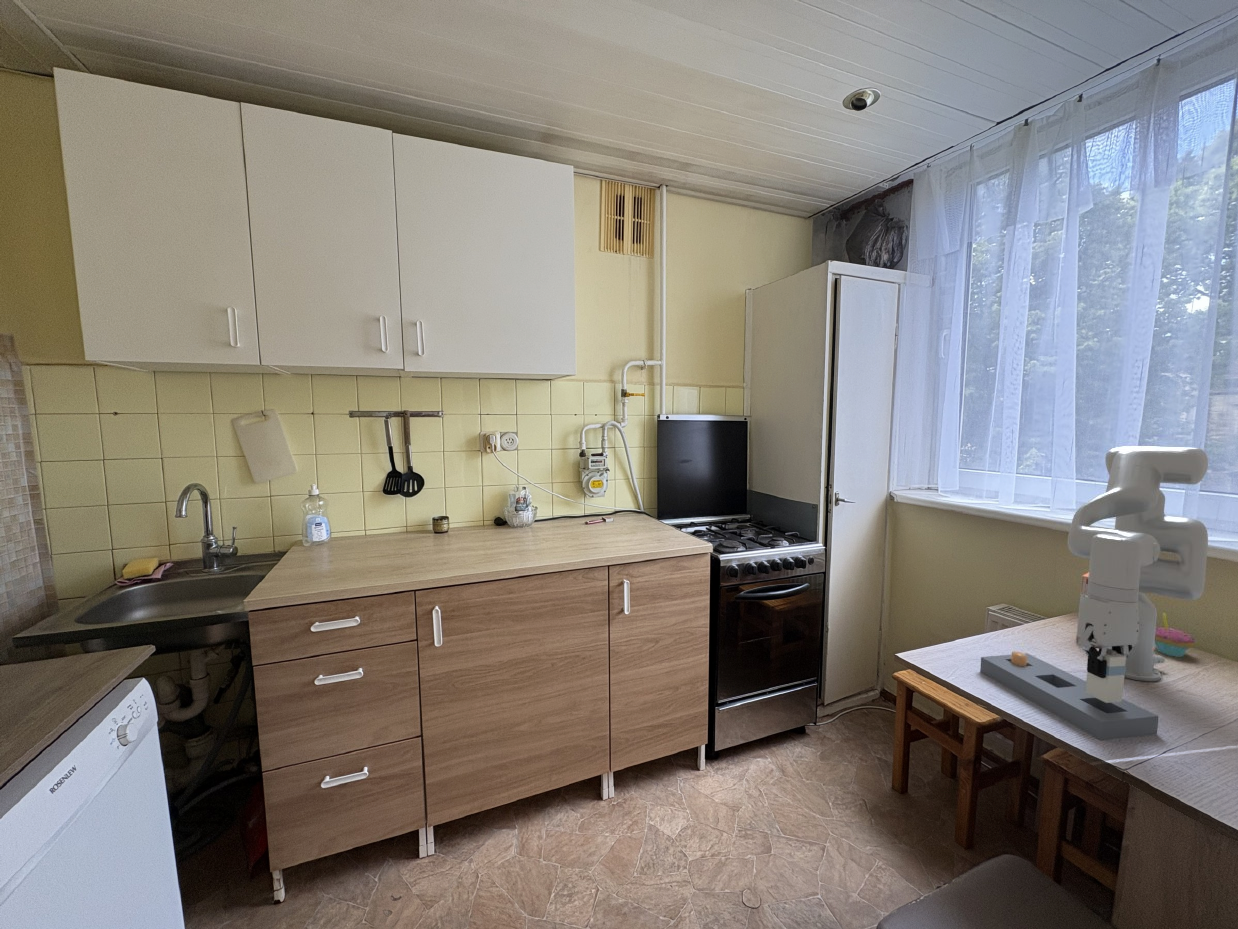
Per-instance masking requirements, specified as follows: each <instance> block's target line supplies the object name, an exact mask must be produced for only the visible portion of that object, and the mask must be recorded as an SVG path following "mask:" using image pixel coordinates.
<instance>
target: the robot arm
mask: <svg viewBox="0 0 1238 929" xmlns="http://www.w3.org/2000/svg"><path fill="white" fill-rule="evenodd" d="M1104 459H1105V466H1106V470H1107V473H1108V476H1109V478H1108V481H1107V485H1106V489H1105V493H1103V494H1100V495H1098V496H1096V497H1093V498H1092V499H1090V500H1088V501H1087V502H1085V503H1084V504H1083V505H1081V506H1080V507H1079V508H1078V509H1077V511H1075V513H1074V515H1073V517H1072V520H1071V525H1070V527H1069V532H1068V535H1067V548H1068V550H1069V551H1070V553H1072V554H1073V555H1074V556H1075V557H1076V556H1077V557H1080V558H1083V559H1088V560H1089V567H1088V573H1089V577H1088V590H1087V596H1085V597H1084V600H1083V603H1082V606H1081V610H1080V614H1079V613H1078V615H1079V620H1078V619H1077V626H1078V627H1076V637H1077V636H1078V638H1080V639H1079V641H1078V642H1077V645H1078V646H1079V647H1081V648H1083V650H1084V651H1085V654H1086V655H1087V663H1086V671H1088V672H1089V673H1091V674H1093V675H1095V676H1098V677H1100V678H1105V677H1106V666H1107V661H1106V660H1104V658H1105V654H1106V650H1107V648H1109V649H1111V650H1114V651H1116V652H1117V653H1118V654H1121V655H1123V656H1126V664H1125V666H1126V669H1125V675H1124V679H1125V678H1127V679H1129V680H1130V679H1131V680H1134V681H1141V682H1158V681H1160V680H1161V677H1162V674H1161V673H1160V671H1159V670H1157V669H1156V668H1155V665H1156V664H1164V663H1165V661H1166V660H1165V657H1163V656H1162V655H1160V654H1159V655H1154V650H1155V631H1156V628H1157V619H1158V611H1157V608H1156V606H1155V604H1154V603H1153V601H1151V600H1150V599H1149V597H1148V596H1147V595H1146V594H1150V595H1151V594H1153V595H1157V596H1163V597H1167V598H1168V597H1169V598H1174V599H1180V600H1188V601H1189V600H1190V601H1193V600H1195V601H1196V600H1197V599H1199V598H1201V597H1202V595H1203V593H1204V589H1205V584H1206V583H1205V582H1206V570H1207V560H1208V559H1207V558H1208V550H1209V549H1208V548H1209V533H1208V530H1207V527H1206V525H1205V524H1204V523H1203V522H1202V521H1200V520H1198V519H1194V518H1190V517H1184V516H1183V517H1182V516H1172V515H1166V514H1165V505H1166V496H1165V494H1164V493H1163V491H1162V490H1161V489H1160V488H1161V484H1172V485H1173V484H1175V485H1177V484H1178V485H1192V486H1193V485H1198V484H1199V483H1200V482H1201V481H1203V479H1204V477H1205V476H1206V474H1207V471H1208V469H1209V468H1208V467H1209V460H1208V459H1209V458H1208V455H1207V454H1206V452H1205V451H1204V450H1203V449H1202V448H1199V447H1175V446H1169V447H1168V446H1144V445H1143V446H1139V445H1134V446H1133V445H1131V446H1130V445H1129V446H1118V447H1114V448H1111V449H1110V450H1108V451H1107V452H1106V454H1105V458H1104ZM1111 518H1115V523H1114V528H1109V527H1101V526H1092V525H1093V524H1095V523H1096V522H1097V523H1098V522H1099V521H1103V520H1107V519H1111ZM1161 553H1163V554H1164V553H1165V554H1172V555H1175V556H1176V557H1177V558H1178V559H1171V558H1167V557H1166V558H1165V557H1160V556H1161V555H1160V554H1161ZM1095 640H1097V642H1095ZM1095 646H1097V647H1099V651H1098V650H1097V649H1098V648H1096V647H1095Z"/></svg>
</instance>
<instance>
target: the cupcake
mask: <svg viewBox="0 0 1238 929" xmlns="http://www.w3.org/2000/svg"><path fill="white" fill-rule="evenodd" d="M1162 619H1163V620H1162V621H1163V625H1164V627H1163V626H1161V627H1156V631H1155V642H1154V645H1156V650H1157V651H1158V652H1160V654H1164V655H1166V656H1171V657H1174V656H1175V658H1182V657H1184V655H1185V654H1186V652H1187V650H1188V649H1191V648H1194V647H1196V642H1195V638H1194V637H1192V636H1191V635H1190V634H1188V633H1186V632H1185V631H1182V630H1180V629H1179V630H1178V629H1176V628H1171V627H1169V625H1168V620H1167V613H1165V611H1164V610H1162Z"/></svg>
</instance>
